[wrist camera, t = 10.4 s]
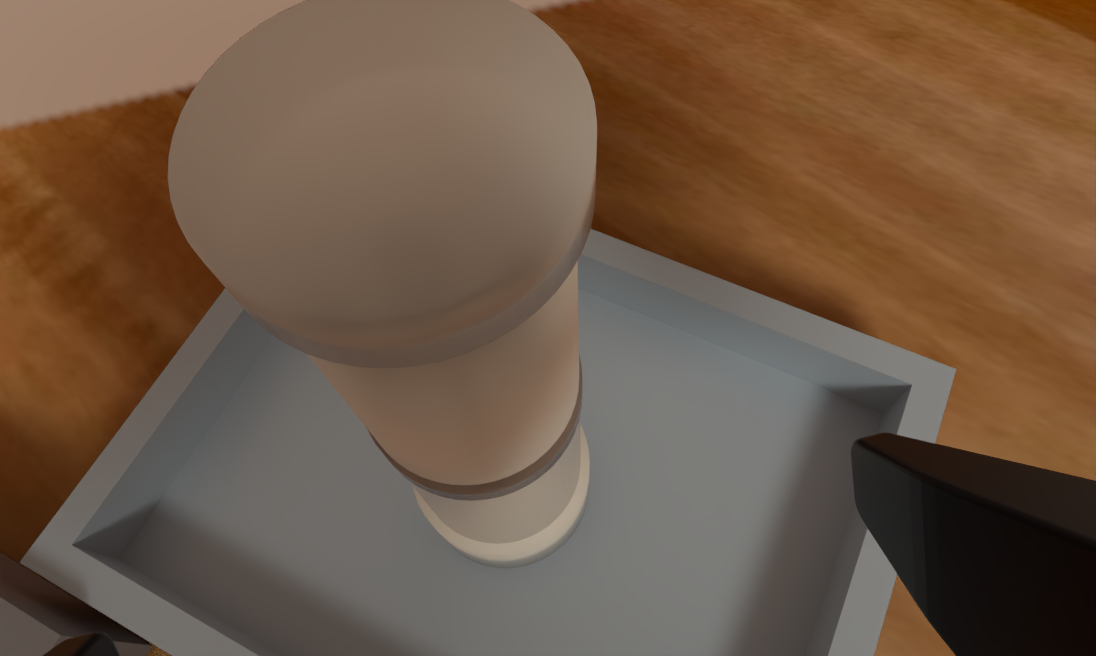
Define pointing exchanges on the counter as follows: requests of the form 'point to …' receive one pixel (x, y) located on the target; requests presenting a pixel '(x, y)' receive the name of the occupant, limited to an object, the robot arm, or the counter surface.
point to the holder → (49, 616)
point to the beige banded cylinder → (414, 240)
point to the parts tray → (567, 574)
